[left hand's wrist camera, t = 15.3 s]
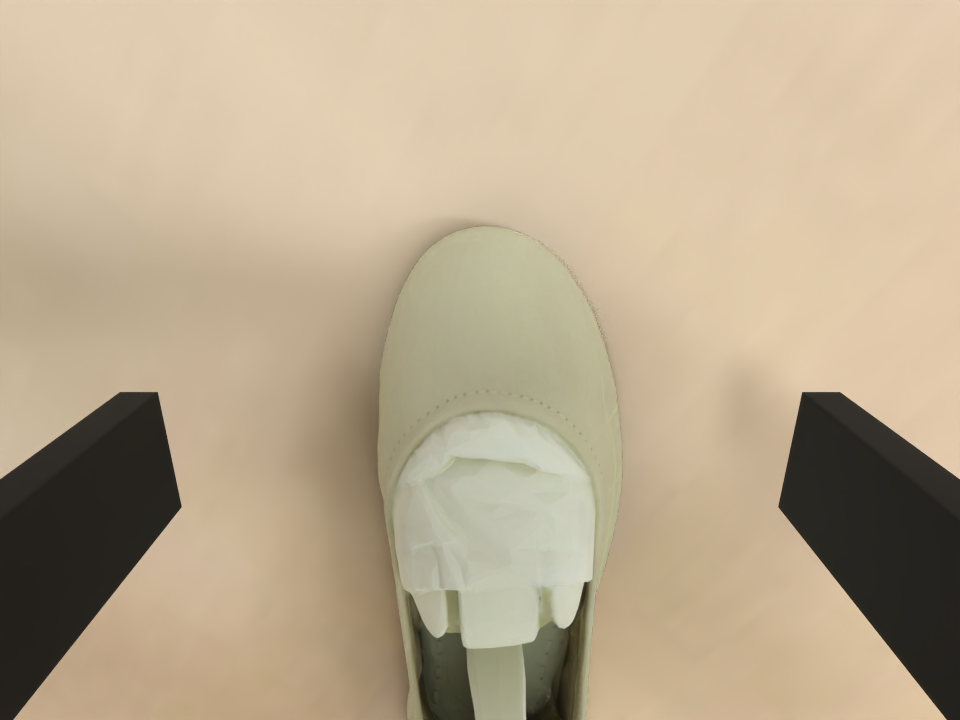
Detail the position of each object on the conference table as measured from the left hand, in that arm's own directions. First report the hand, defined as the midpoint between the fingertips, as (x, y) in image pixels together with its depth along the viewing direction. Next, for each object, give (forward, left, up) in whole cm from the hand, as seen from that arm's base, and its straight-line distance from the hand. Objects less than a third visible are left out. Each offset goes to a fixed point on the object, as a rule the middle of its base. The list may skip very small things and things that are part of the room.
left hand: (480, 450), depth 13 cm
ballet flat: (+8, -2, -9) cm, 12 cm away
